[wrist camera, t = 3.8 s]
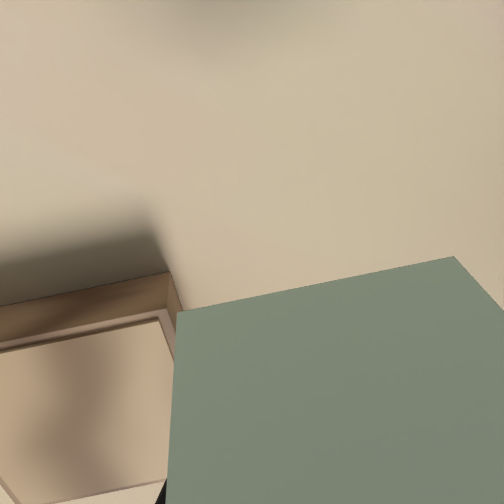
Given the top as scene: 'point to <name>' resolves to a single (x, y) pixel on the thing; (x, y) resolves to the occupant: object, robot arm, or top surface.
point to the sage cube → (342, 394)
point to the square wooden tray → (87, 390)
